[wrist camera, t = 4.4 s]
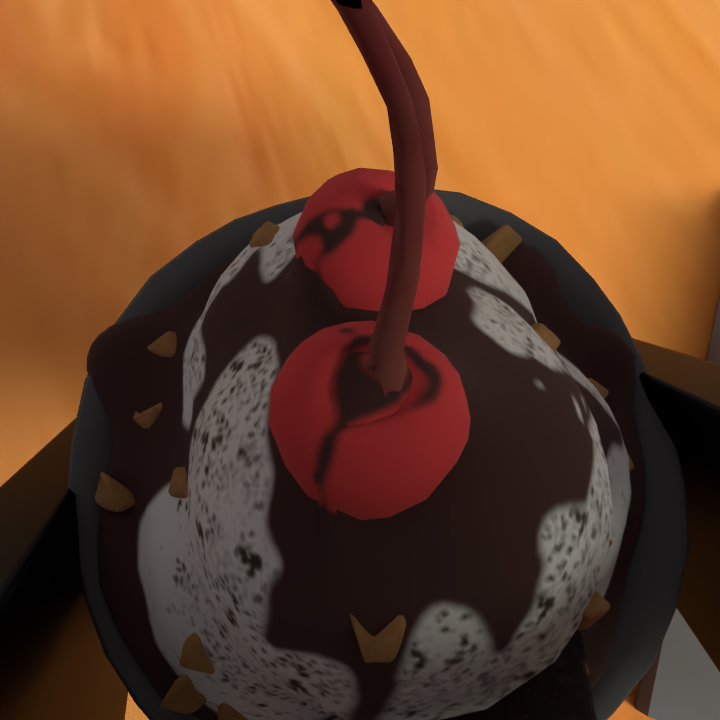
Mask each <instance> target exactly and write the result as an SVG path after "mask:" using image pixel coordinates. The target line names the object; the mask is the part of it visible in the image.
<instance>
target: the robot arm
mask: <svg viewBox="0 0 720 720" xmlns="http://www.w3.org/2000/svg"><path fill="white" fill-rule="evenodd" d="M632 340H633V342H634V344H635V346H636V347H637V349H638V351H639V353H640V355H641V358H642V360H643V362H644V364H645V367H646V372H642V373H641V374H640V375H639V379H640V381H641V384H642V386H643V389H644V391H645V394H646V396H647V399H648V400H649V402H650V404H651V406H652V407H653V409H654V411H655V413H656V414H657V416H658V418H659V419H660V421H661V423H662V425H663V426H664V428H665V430H666V432H667V433H668V435H669V437H670V439H671V440H672V442H673V443H674V445H675V448H676V451H677V453H678V456H679V459H680V463H681V468H682V473H683V477H684V482H685V488H686V501H687V515H688V528H689V542H690V548H689V552H688V557H687V562H686V567H685V571H684V576H683V581H682V586H681V590H680V595H679V600H678V605H677V610H678V611H679V613H680V614H681V615H682V617H683V618H684V620H685V621H686V623H687V624H688V626H689V627H690V629H691V630H692V632H693V633H694V635H695V636H696V638H697V639H698V641H699V642H700V644H701V645H702V647H703V648H704V650H705V651H706V653H707V654H708V656H709V657H710V659H711V660H712V662H713V663H714V665H715V666H716V668H717V669H718V671H719V672H720V365H719V364H716V363H712V362H709V361H706V360H702V359H699V358H696V357H693V356H689V355H686V354H683V353H679V352H676V351H673V350H670V349H666V348H663V347H660V346H656V345H653V344H650V343H647V342H643V341H640V340H637V339H633V338H632ZM76 419H77V418H75V419H74V420H73V421H72V422H71V423H70V424H69V425H68V426H67V427H66V428H64V429H63V430H62V431H61V432H60V433H59V434H58V435H57V436H56V437H55V438H54V439H52V440H51V441H50V442H49V443H48V444H47V445H46V446H45V447H44V448H43V449H41V450H40V451H39V452H38V453H37V454H36V455H35V456H34V457H33V458H32V459H30V460H29V461H28V462H27V463H26V464H25V465H24V466H23V467H22V468H21V469H20V470H18V471H17V472H16V473H15V474H14V475H13V476H12V477H11V478H10V479H9V480H7V481H6V482H5V483H4V484H3V485H2V486H1V487H0V720H125V712H126V704H127V696H128V690H127V689H126V687H125V686H124V684H123V683H122V681H121V679H120V678H119V676H118V675H117V673H116V671H115V670H114V668H113V667H112V665H111V663H110V662H109V660H108V659H107V657H106V656H105V654H104V651H103V648H102V645H101V643H100V640H99V637H98V634H97V632H96V629H95V626H94V623H93V621H92V618H91V615H90V613H89V610H88V607H87V604H86V602H85V598H84V594H83V589H82V585H81V573H80V559H79V536H78V521H77V507H76V495H75V493H74V492H73V491H71V489H70V488H68V476H69V464H70V452H71V441H72V437H73V432H74V428H75V423H76Z"/></svg>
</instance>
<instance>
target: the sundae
mask: <svg viewBox="0 0 720 720" xmlns="http://www.w3.org/2000/svg"><path fill="white" fill-rule="evenodd" d="M331 1H332V3H333V4H334V6H335V7H336V9H337V10H338V12H339V14H340V15H341V17H342V19H343V21H344V23H345V25H346V26H347V28H348V30H349V32H350V34H351V36H352V37H353V39H354V41H355V43H356V45H357V47H358V48H359V50H360V52H361V54H362V56H363V58H364V60H365V62H366V64H367V66H368V68H369V70H370V73H371V75H372V77H373V79H374V81H375V83H376V85H377V87H378V89H379V92H380V94H381V96H382V98H383V100H384V102H385V104H386V106H387V110H388V117H389V124H390V131H391V138H392V145H393V153H394V170H395V172H393V171H389V170H378V169H367V168H357V169H354V170H351V171H348V172H344V173H341V174H338V175H336V176H334V177H332V178H331V179H329V180H327V181H326V182H325V183H324V184H323V185H322V186H321V187H320V188H319V189H318V190H317V191H316V192H315V193H314V194H313V195H311V196H310V197H306V198H302V199H298V200H294V201H290V202H287V203H283V204H279V205H275V206H273V207H270V208H267V209H264V210H261V211H258V212H255V213H252V214H249V215H246V216H244V217H241V218H238V219H235V220H233V221H231V222H230V223H228V224H226V225H224V226H223V227H221V228H219V229H217V230H216V231H214V232H212V233H210V234H209V235H207V236H205V237H203V238H202V239H200V240H198V241H196V242H195V243H194V244H192V245H191V246H190V247H188V248H187V249H186V250H184V251H183V252H182V253H181V254H179V255H178V256H177V257H175V258H174V259H173V260H171V261H170V262H169V263H167V264H166V265H165V266H164V267H162V268H161V269H160V270H158V271H157V272H156V273H154V274H153V275H152V276H151V277H150V278H149V279H148V280H147V282H146V283H145V284H144V286H143V287H142V288H141V290H140V291H139V292H138V294H137V295H136V296H135V298H134V299H133V300H132V302H131V303H130V304H129V306H128V307H127V308H126V310H125V311H124V312H123V314H122V315H121V316H120V318H119V319H118V320H117V322H116V323H115V324H114V325H112V326H110V327H109V328H108V329H106V330H105V331H104V332H102V333H101V334H100V335H99V336H98V337H97V338H96V339H95V341H94V342H93V343H92V345H91V348H90V350H89V353H88V356H87V372H88V375H87V377H86V379H85V382H84V387H83V392H82V396H81V401H80V405H79V410H78V414H77V419H76V423H75V428H74V432H73V437H72V441H71V452H70V464H69V476H68V488H70V489H71V491H73V492H74V493H75V495H76V507H77V521H78V536H79V559H80V573H81V585H82V589H83V594H84V598H85V602H86V604H87V607H88V610H89V613H90V615H91V618H92V621H93V623H94V626H95V629H96V632H97V634H98V637H99V640H100V643H101V645H102V648H103V651H104V654H105V656H106V657H107V659H108V660H109V662H110V663H111V665H112V667H113V668H114V670H115V671H116V673H117V675H118V676H119V678H120V679H121V681H122V683H123V684H124V686H125V687H126V689H127V690H128V692H129V694H130V695H131V697H132V698H133V700H134V702H135V703H136V704H137V706H138V707H139V708H140V709H141V710H142V711H143V713H144V714H145V715H146V716H147V717H148V719H149V720H607V719H608V718H609V717H610V716H611V715H612V714H613V713H614V712H615V711H616V710H617V708H618V707H619V706H620V705H621V703H622V702H623V701H624V700H625V699H626V697H627V696H628V695H629V694H630V692H631V691H632V690H633V689H634V688H635V686H636V685H637V684H638V683H639V681H640V680H641V679H642V678H643V677H644V675H645V674H646V673H647V672H648V671H649V669H650V668H651V667H652V666H653V664H654V662H655V659H656V657H657V654H658V652H659V649H660V647H661V645H662V642H663V640H664V637H665V635H666V632H667V630H668V627H669V625H670V623H671V620H672V618H673V615H674V613H675V610H676V608H677V605H678V600H679V595H680V590H681V586H682V581H683V576H684V571H685V567H686V562H687V557H688V552H689V548H690V542H689V528H688V515H687V501H686V488H685V482H684V477H683V473H682V468H681V463H680V459H679V456H678V453H677V451H676V448H675V445H674V443H673V442H672V440H671V439H670V437H669V435H668V433H667V432H666V430H665V428H664V426H663V425H662V423H661V421H660V419H659V418H658V416H657V414H656V413H655V411H654V409H653V407H652V406H651V404H650V402H649V400H648V399H647V396H646V394H645V391H644V389H643V386H642V384H641V381H640V379H639V375H640V374H641V373H642V372H646V367H645V364H644V362H643V360H642V358H641V355H640V353H639V351H638V349H637V347H636V346H635V344H634V342H633V340H632V338H631V336H630V334H629V332H628V330H627V328H626V326H625V324H624V322H623V320H622V318H621V316H620V314H619V313H618V312H617V310H616V309H615V307H614V306H613V305H612V303H611V302H610V301H609V299H608V298H607V297H606V295H605V294H604V292H603V291H602V290H601V288H600V287H599V286H598V284H597V283H596V282H595V280H594V279H593V278H592V277H591V276H590V275H589V274H588V273H587V272H586V271H585V269H584V268H583V267H582V266H581V265H580V264H579V263H578V262H577V261H576V260H575V259H574V258H573V257H572V256H571V255H570V254H569V253H568V252H567V251H566V250H565V249H564V248H563V247H562V245H561V244H560V243H559V242H558V241H557V240H555V239H553V238H552V237H550V236H549V235H547V234H545V233H544V232H542V231H540V230H539V229H537V228H535V227H534V226H532V225H530V224H529V223H527V222H525V221H524V220H522V219H520V218H519V217H517V216H515V215H514V214H512V213H510V212H508V211H505V210H503V209H500V208H498V207H495V206H493V205H490V204H488V203H485V202H483V201H480V200H478V199H475V198H472V197H470V196H467V195H465V194H462V193H459V192H450V191H442V190H434V186H435V180H436V175H437V170H438V166H437V158H436V150H435V142H434V134H433V126H432V118H431V110H430V102H429V98H428V96H427V93H426V91H425V89H424V86H423V84H422V82H421V80H420V78H419V75H418V73H417V71H416V69H415V66H414V64H413V62H412V60H411V58H410V56H409V55H408V53H407V52H406V50H405V49H404V47H403V46H402V44H401V43H400V41H399V40H398V38H397V36H396V35H395V33H394V32H393V30H392V29H391V27H390V26H389V24H388V23H387V21H386V20H385V18H384V17H383V15H382V14H381V12H380V11H379V9H378V8H377V6H376V5H375V4H374V2H373V1H372V0H331Z"/></svg>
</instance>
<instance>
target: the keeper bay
mask: <svg viewBox="0 0 720 720" xmlns="http://www.w3.org/2000/svg"><path fill="white" fill-rule="evenodd" d="M706 361H709V362H712V363H716V364H719V365H720V298H719V303H718V307H717V312H716V317H715V322H714V327H713V332H712V336H711V341H710V346H709V351H708V356H707V360H706ZM635 709H637V710H638V711H640V712H642V713H643V714H645V715H646V716H648V717H651V718H654V719H656V720H720V672H719V671H718V669H717V668H716V666H715V665H714V663H713V662H712V660H711V659H710V657H709V656H708V654H707V653H706V651H705V650H704V648H703V647H702V645H701V644H700V642H699V641H698V639H697V638H696V636H695V635H694V633H693V632H692V630H691V629H690V627H689V626H688V624H687V623H686V621H685V620H684V618H683V617H682V615H681V614H680V613H679V611H678V610H677V608H676V610H675V613H674V615H673V618H672V620H671V623H670V625H669V627H668V630H667V632H666V635H665V637H664V640H663V642H662V645H661V647H660V649H659V652H658V654H657V657H656V659H655V662H654V664H653V666H652V667H651V668H650V669H649V671H648V672H647V673H646V674H645V675H644V677H643V678H642V679H641V680H640V684H639V689H638V694H637V699H636V704H635Z"/></svg>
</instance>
